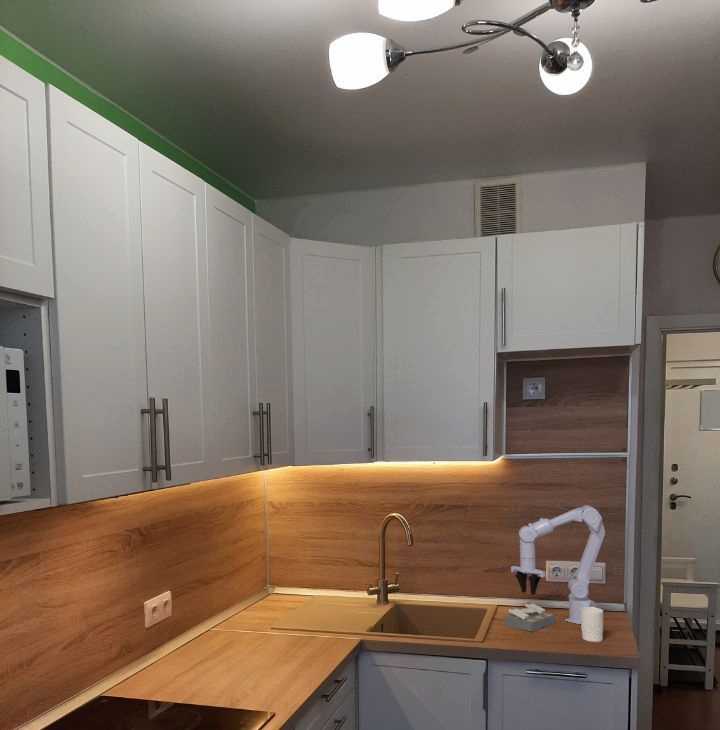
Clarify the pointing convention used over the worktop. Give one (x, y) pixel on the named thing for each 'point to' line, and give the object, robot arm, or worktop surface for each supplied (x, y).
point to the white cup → (591, 624)
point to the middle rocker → (528, 610)
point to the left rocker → (518, 613)
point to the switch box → (530, 621)
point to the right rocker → (531, 605)
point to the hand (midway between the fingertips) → (528, 593)
